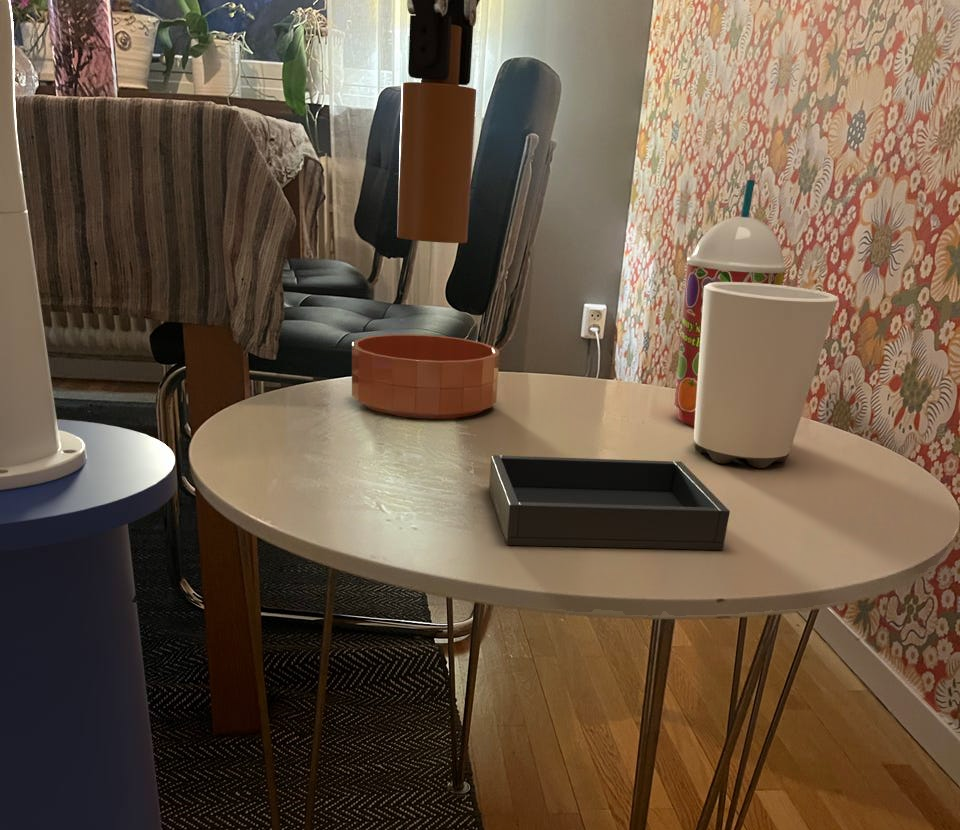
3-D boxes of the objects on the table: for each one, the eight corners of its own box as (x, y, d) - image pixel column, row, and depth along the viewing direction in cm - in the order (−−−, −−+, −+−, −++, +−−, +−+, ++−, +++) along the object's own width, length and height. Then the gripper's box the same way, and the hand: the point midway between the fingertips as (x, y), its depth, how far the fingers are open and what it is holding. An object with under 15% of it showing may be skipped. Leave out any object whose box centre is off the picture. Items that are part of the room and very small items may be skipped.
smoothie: (644, 417, 87) (678, 175, 78) (701, 407, 92) (738, 179, 83) (718, 439, 81) (764, 181, 72) (774, 427, 86) (823, 185, 77)
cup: (654, 451, 76) (678, 284, 71) (717, 433, 83) (744, 279, 77) (765, 482, 71) (801, 302, 65) (823, 460, 77) (861, 296, 71)
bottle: (398, 239, 76) (405, 16, 69) (396, 234, 81) (402, 26, 74) (470, 244, 76) (484, 24, 70) (463, 239, 81) (476, 34, 75)
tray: (506, 545, 56) (509, 504, 55) (488, 490, 65) (491, 454, 64) (722, 550, 57) (730, 511, 56) (676, 496, 66) (681, 461, 65)
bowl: (350, 418, 80) (350, 357, 78) (353, 385, 91) (353, 331, 89) (502, 424, 81) (507, 364, 79) (487, 390, 93) (490, 338, 91)
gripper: (455, -183, 73) (442, 90, 82) (344, -272, 60) (342, 66, 68) (545, -188, 71) (523, 94, 79) (451, -282, 57) (435, 70, 65)
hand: (439, 78), depth 73 cm, fingers closed on bottle, 3 cm apart
